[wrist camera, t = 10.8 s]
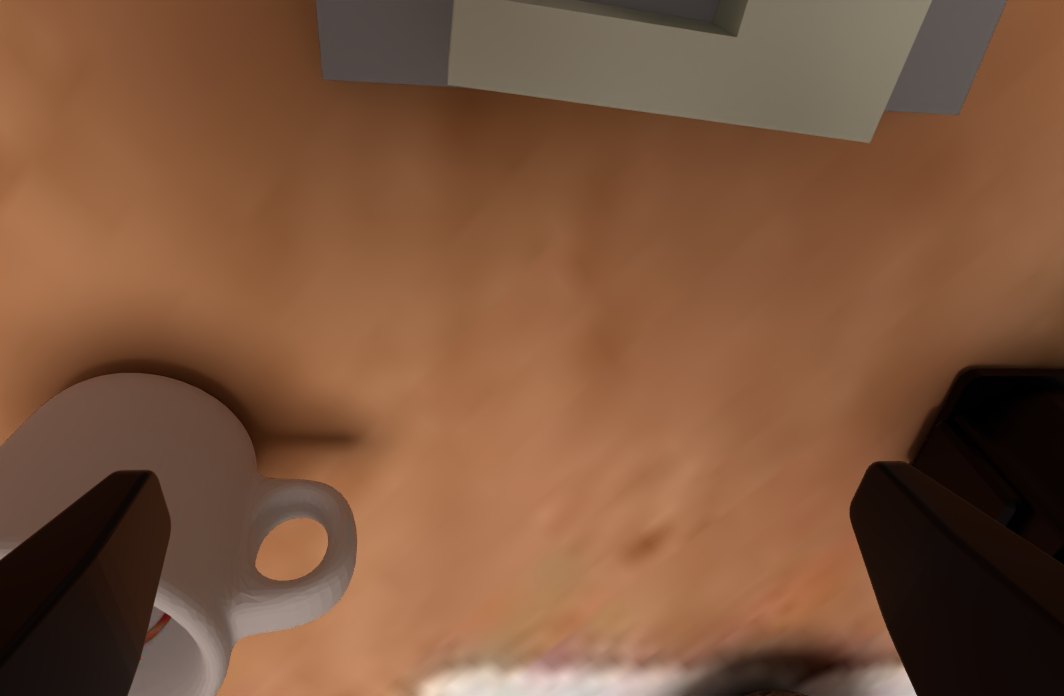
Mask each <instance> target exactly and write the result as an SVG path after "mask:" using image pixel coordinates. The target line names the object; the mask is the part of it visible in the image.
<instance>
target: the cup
mask: <svg viewBox="0 0 1064 696" xmlns="http://www.w3.org/2000/svg"><path fill="white" fill-rule="evenodd" d="M118 470H151V471H153V472H154V473H155V474H156V475H157V477H158V479H159V482H160V485H161V488H162V491H163V495H164V498H165V501H166V504H167V507H168V510H169V514H170V518H171V534H170V539H169V543H168V548H167V552H166V556H165V560H164V564H163V569H162V573H161V577H160V581H159V585H158V590H157V594H156V598H155V602H154V606H153V611H152V615H151V619H150V623H149V627H148V632H147V636H146V640H145V644H144V647H143V651H142V655H141V659H140V662H139V665H138V668H137V671H136V674H135V677H134V680H133V683H132V685H131V688H130V691H129V694H128V696H215V695H216V694H217V692H218V690H219V689H220V687H221V685H222V683H223V681H224V678H225V676H226V673H227V669H228V666H229V660H230V655H231V652H232V649H233V647H234V645H235V644H236V643H237V642H238V641H239V640H240V639H242V638H244V637H247V636H250V635H254V634H261V633H267V632H274V631H280V630H285V629H289V628H294V627H298V626H301V625H304V624H307V623H309V622H311V621H313V620H315V619H317V618H319V617H321V616H322V615H324V614H325V613H327V612H328V611H330V610H331V609H332V608H333V606H334V605H335V604H336V603H337V602H338V601H339V600H340V599H341V598H342V596H343V594H344V593H345V591H346V590H347V587H348V585H349V582H350V580H351V577H352V575H353V571H354V567H355V563H356V551H357V533H356V525H355V521H354V517H353V513H352V511H351V508H350V506H349V504H348V502H347V501H346V499H345V498H344V497H343V495H342V494H341V493H340V492H338V491H337V490H336V489H334V488H333V487H331V486H329V485H327V484H324V483H321V482H317V481H310V480H301V479H274V478H267V477H264V476H262V475H260V474H259V473H258V472H257V461H256V455H255V450H254V447H253V444H252V441H251V439H250V437H249V435H248V433H247V431H246V429H245V428H244V426H243V425H242V423H241V422H240V421H239V419H238V418H237V417H236V416H235V415H234V414H233V413H232V412H231V411H230V410H229V409H228V408H227V407H226V406H225V405H224V404H222V403H221V402H220V401H219V400H217V399H216V398H214V397H213V396H211V395H209V394H208V393H206V392H204V391H203V390H201V389H199V388H197V387H195V386H192V385H190V384H187V383H185V382H182V381H179V380H176V379H173V378H169V377H165V376H160V375H153V374H146V373H116V374H109V375H102V376H98V377H94V378H91V379H88V380H85V381H82V382H80V383H77V384H75V385H73V386H71V387H69V388H67V389H65V390H64V391H62V392H60V393H59V394H57V395H55V396H54V397H53V398H51V399H50V400H49V401H47V402H46V403H45V404H43V405H42V406H41V407H40V408H39V409H38V410H37V411H36V412H35V413H33V414H32V415H31V416H30V417H29V418H28V419H27V420H26V421H25V422H24V423H23V424H22V425H21V426H20V427H19V428H18V429H17V430H16V431H15V432H14V433H13V434H12V435H11V436H10V437H9V438H8V439H7V440H6V441H5V442H4V444H3V445H2V446H1V447H0V560H1V559H2V558H3V557H4V556H6V555H7V554H8V553H9V552H11V551H12V550H13V549H15V548H16V547H17V546H18V545H20V544H21V543H22V542H24V541H25V540H26V539H27V538H29V537H30V536H31V535H33V534H34V533H35V532H36V531H38V530H39V529H40V528H42V527H43V526H44V525H45V524H47V523H48V522H49V521H50V520H52V519H53V518H54V517H56V516H57V515H58V514H59V513H61V512H62V511H63V510H65V509H66V508H67V507H68V506H70V505H71V504H72V503H74V502H75V501H76V500H77V499H79V498H80V497H81V496H83V495H84V494H85V493H86V492H88V491H89V490H90V489H91V488H93V487H94V486H95V485H97V484H98V483H99V482H100V481H102V480H103V479H104V478H106V477H107V476H108V475H110V474H111V473H113V472H115V471H118ZM295 518H308V519H313V520H316V521H318V522H319V523H320V524H322V525H323V526H324V528H325V529H326V531H327V534H328V547H327V551H326V554H325V556H324V558H323V560H322V561H321V563H320V564H319V565H318V566H317V567H316V568H315V569H314V570H313V571H312V572H311V573H309V574H307V575H306V576H303V577H301V578H298V579H294V580H289V581H277V580H273V579H269V578H267V577H265V576H263V575H262V574H261V573H259V572H258V570H257V569H256V567H255V561H256V557H257V554H258V551H259V548H260V545H261V544H262V542H263V540H264V538H265V537H266V536H267V535H268V534H269V532H270V531H271V530H273V529H274V528H275V527H276V526H277V525H279V524H281V523H282V522H284V521H287V520H290V519H295Z"/></svg>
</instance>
